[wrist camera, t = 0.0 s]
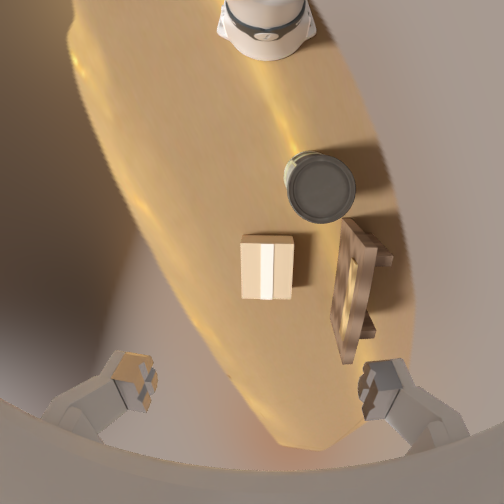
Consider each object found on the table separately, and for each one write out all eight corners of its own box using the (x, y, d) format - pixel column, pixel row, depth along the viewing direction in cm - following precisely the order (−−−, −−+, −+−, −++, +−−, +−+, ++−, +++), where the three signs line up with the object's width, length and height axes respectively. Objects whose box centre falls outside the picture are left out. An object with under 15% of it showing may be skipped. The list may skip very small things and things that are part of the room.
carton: (242, 234, 59) (240, 243, 54) (292, 235, 59) (294, 244, 54) (244, 286, 64) (241, 298, 59) (289, 287, 63) (291, 299, 58)
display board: (340, 218, 56) (363, 247, 42) (373, 219, 56) (405, 248, 41) (328, 317, 65) (340, 364, 51) (357, 316, 65) (375, 362, 50)
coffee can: (309, 139, 51) (322, 140, 38) (346, 177, 53) (369, 191, 40) (271, 177, 54) (272, 190, 41) (309, 213, 56) (320, 237, 43)
